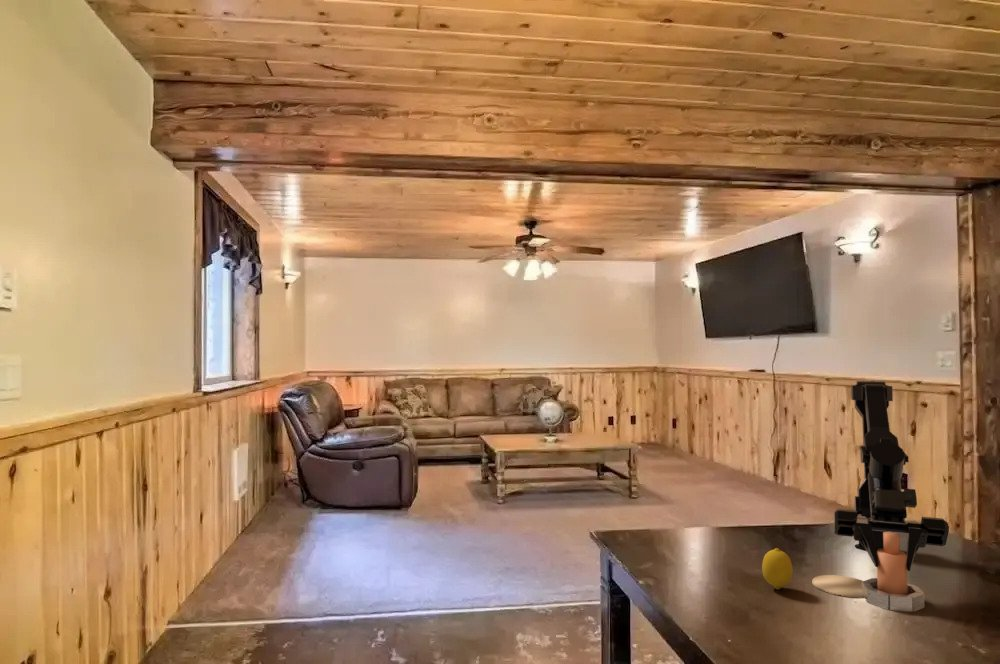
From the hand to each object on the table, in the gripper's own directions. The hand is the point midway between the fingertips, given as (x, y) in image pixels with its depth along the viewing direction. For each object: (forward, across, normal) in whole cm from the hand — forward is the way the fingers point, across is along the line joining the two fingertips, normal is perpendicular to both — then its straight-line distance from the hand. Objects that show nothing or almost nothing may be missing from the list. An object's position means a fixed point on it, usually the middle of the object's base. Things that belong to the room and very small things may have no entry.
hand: (892, 567), depth 121 cm
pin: (+4, 0, +6) cm, 7 cm away
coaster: (+1, -8, +9) cm, 12 cm away
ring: (+4, 0, +6) cm, 7 cm away
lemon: (+6, -20, +4) cm, 21 cm away
